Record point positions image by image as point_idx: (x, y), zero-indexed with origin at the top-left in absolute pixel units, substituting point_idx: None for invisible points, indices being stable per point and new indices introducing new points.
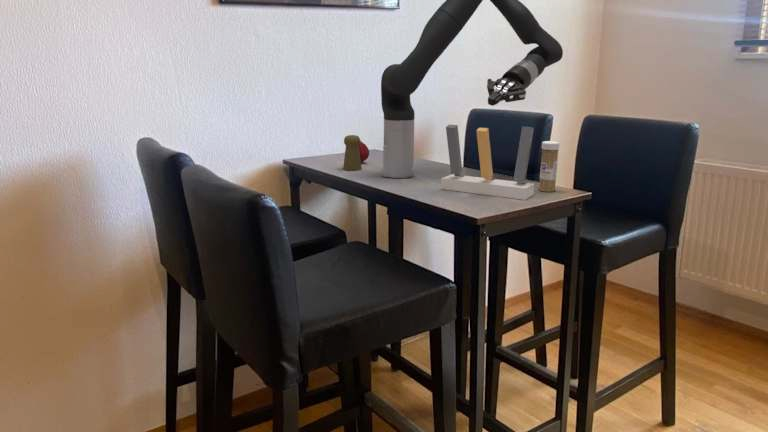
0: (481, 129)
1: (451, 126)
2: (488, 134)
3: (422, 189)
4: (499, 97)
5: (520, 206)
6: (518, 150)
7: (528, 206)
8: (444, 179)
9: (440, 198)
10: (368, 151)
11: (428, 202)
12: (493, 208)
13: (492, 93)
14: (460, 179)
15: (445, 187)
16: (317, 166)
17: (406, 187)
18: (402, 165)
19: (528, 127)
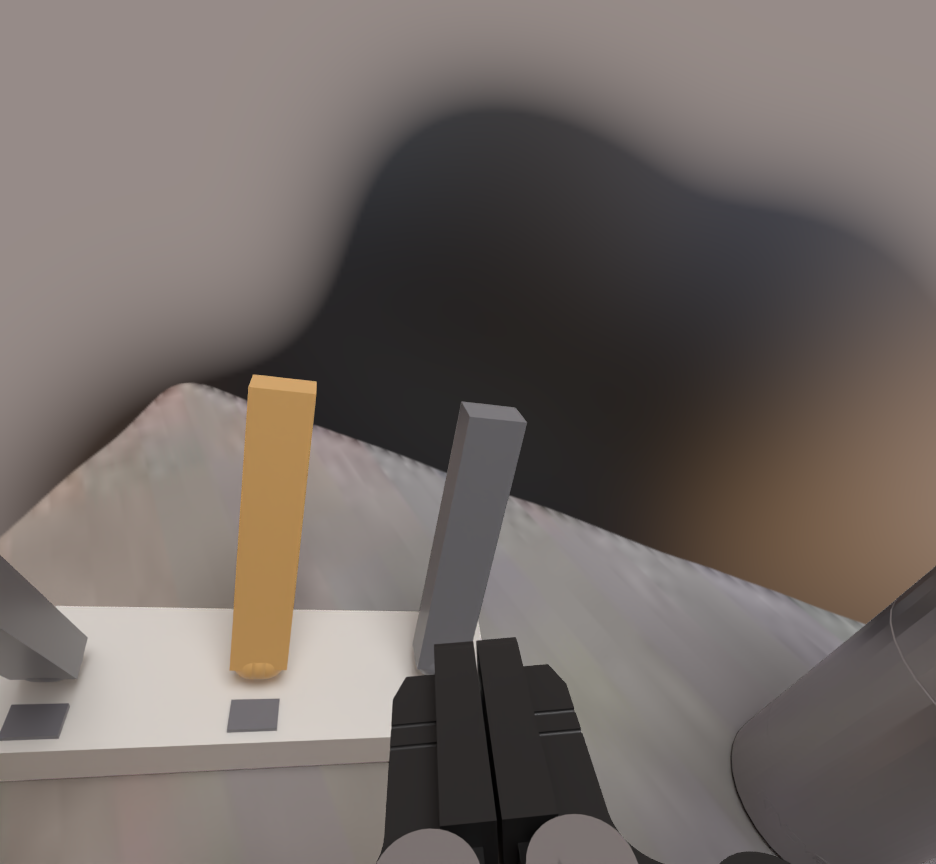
0: (290, 384)
1: (491, 409)
2: (247, 422)
3: (516, 597)
4: (397, 776)
5: (47, 530)
6: (35, 590)
7: (7, 543)
8: None
9: (381, 512)
10: None
11: (387, 460)
12: (157, 472)
13: (606, 807)
14: (393, 634)
15: None
16: None
17: (581, 597)
18: (768, 712)
19: None
